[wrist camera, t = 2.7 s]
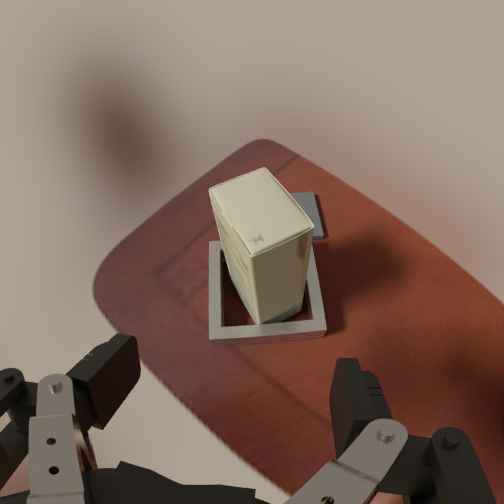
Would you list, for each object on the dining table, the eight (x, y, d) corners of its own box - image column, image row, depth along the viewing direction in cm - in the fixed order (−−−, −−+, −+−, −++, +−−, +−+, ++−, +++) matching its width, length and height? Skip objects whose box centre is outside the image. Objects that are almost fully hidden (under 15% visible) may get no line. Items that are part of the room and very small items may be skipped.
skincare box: (302, 311, 28) (321, 229, 17) (259, 333, 27) (252, 262, 16) (268, 257, 31) (265, 162, 20) (228, 276, 30) (205, 186, 20)
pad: (323, 238, 32) (323, 235, 31) (264, 243, 32) (264, 240, 31) (312, 195, 35) (313, 192, 34) (260, 199, 35) (260, 195, 34)
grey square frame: (322, 337, 26) (327, 329, 24) (213, 346, 26) (209, 339, 24) (307, 246, 31) (309, 233, 29) (213, 254, 31) (209, 241, 29)
